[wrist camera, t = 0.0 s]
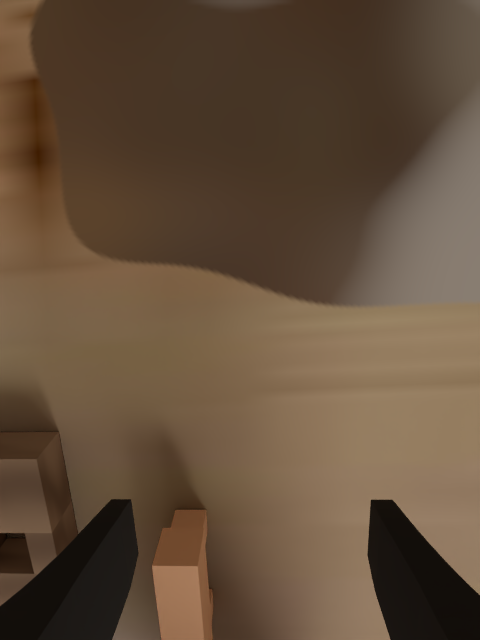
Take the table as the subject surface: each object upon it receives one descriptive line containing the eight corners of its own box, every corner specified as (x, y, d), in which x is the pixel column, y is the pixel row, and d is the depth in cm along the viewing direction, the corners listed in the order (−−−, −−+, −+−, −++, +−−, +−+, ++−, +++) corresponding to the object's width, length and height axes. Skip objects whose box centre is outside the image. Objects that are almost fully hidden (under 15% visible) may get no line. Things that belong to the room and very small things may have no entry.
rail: (102, 663, 30) (88, 705, 27) (16, 661, 30) (-5, 703, 28) (58, 431, 24) (36, 459, 22) (-46, 432, 25) (-79, 459, 22)
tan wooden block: (217, 616, 28) (209, 697, 23) (183, 615, 28) (168, 696, 24) (208, 499, 25) (197, 566, 21) (171, 498, 25) (152, 566, 21)
